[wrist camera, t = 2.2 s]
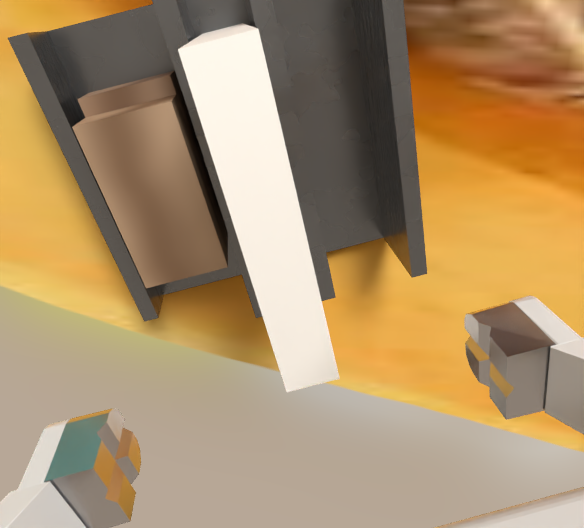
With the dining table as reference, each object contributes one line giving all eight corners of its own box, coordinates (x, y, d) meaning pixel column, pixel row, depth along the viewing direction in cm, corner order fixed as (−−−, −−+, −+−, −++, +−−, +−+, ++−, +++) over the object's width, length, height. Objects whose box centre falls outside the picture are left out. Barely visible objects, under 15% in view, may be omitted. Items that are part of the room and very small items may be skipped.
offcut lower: (174, 70, 27) (169, 75, 25) (227, 233, 32) (227, 249, 30) (89, 92, 27) (77, 99, 25) (157, 251, 32) (151, 268, 30)
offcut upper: (176, 94, 25) (171, 101, 23) (227, 249, 30) (228, 267, 28) (85, 117, 25) (71, 127, 23) (151, 268, 30) (146, 288, 28)
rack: (356, -47, 26) (397, -68, 20) (391, 227, 35) (427, 273, 29) (38, 35, 26) (-22, 40, 20) (153, 289, 35) (136, 348, 29)
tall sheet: (242, 23, 26) (258, 28, 13) (295, 235, 33) (339, 378, 20) (202, 33, 26) (177, 49, 13) (262, 243, 33) (286, 392, 20)
